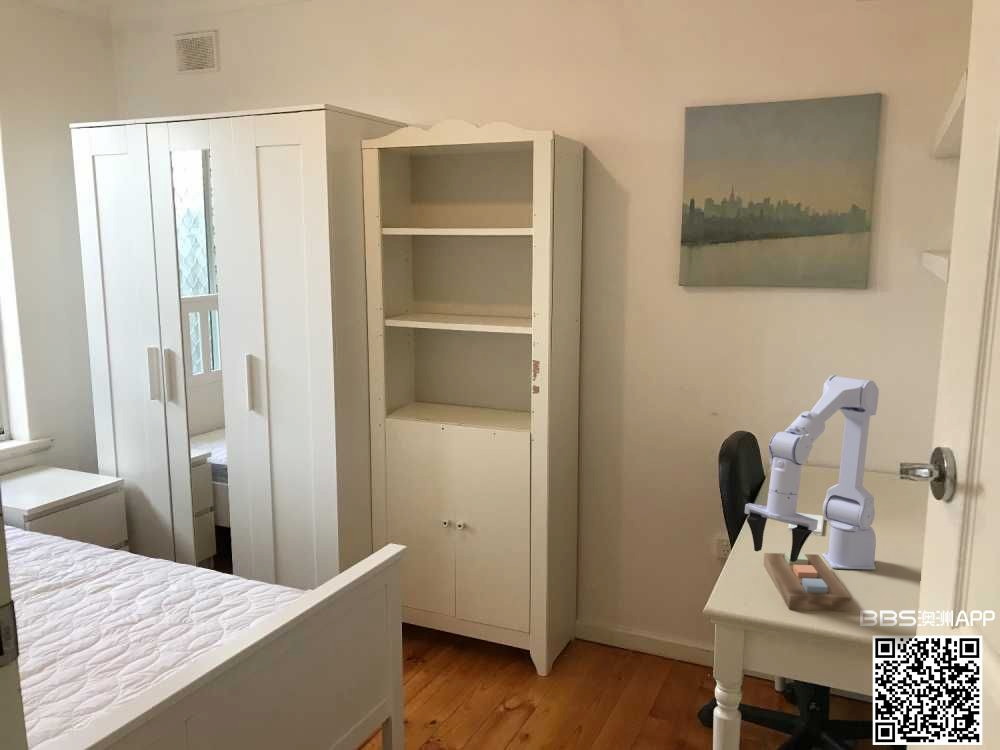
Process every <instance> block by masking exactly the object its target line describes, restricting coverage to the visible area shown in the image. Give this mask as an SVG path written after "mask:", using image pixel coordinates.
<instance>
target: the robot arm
mask: <svg viewBox="0 0 1000 750" xmlns="http://www.w3.org/2000/svg"><path fill="white" fill-rule="evenodd" d="M879 391H880V390H879V387H878V386H877V384H876V382H875V380H873V379H870V380H866V379H859V378H853V377H846V376H845V377H844V376H839V375H836V374H832V375H829V377H828V378H827V379H826V380H825V382H824V383H823V389H822V396H821V397H820V398H819V399H818V401H817V402H816V403H815V405H814V406H813V408H812V409H811V410H809V411H806V410H805V411H803V412H801V413H800V414H799V415H798V416H797V418H795V419H794V420H793V422H792V423H791V424H789V426H787V428H786V429H785V430H784V431H778V432H776V433H774V434H773V435H772V436H771V438H770V440H769V443H768V445H767V450H768V451H767V452H768V455H769V466H770V467H771V472H770V480H769V486H768V487H769V488H768V493H767V503H766V505H761V504H757V503H751V502H749V503H746V504H745V506H744V514H746V515H748V516H747V517H746V521H747V524H748V526H749V529H750V532H751V536H752V541H753V550H754V551H755V552H760V551H762V547H763V543H764V541H763V540H764V532H765V529H766V525H767V522H768V521H767V520H768V519H770V520H774V521H778V522H781V523H785V524H788V525H789V524H792V525H796V526H797V527H795V528H793V529H792V532H791V539H792V541H791V551H790V552H791V555H790V561H792V562H795V561H797V559H798V556H799V553H800V552H801V550H802V548H803V547H804V544H805V543H806V541H807V539H808V538H809V537H810V536H811V535H812V534H811V533H812V531H814V530H816V529H817V524H818V520H816V519H812V518H809V517H806V516H803V515H801V514H798V513H799V512H797V507H798V498H799V490H800V482H801V476H802V475H801V474H802V469H803V464H804V463H805V462H807V460H808V458H809V457H810V453H811V451H812V449H813V446H814V445H813V444H814V443H815V442H816V440H818V438H819V437H820V436H821V435H822V434H823V433H824V432H825V430H826V422H827V421H828V420H829V419H830V418H831V417H832V416H834V414H836V413H837V412H838V411H840V412H841V414H842V415H843V416H844V417H845V420H844V429H843V430H844V431H843V436H842V437H843V439H842V446H841V458H840V465H839V475H838V483H837V484H834V485H832V486H831V487H829V488H828V489H827V491H826V495H825V500H824V501H823V504H822V514H823V516H824V519H826V520H827V524H828V525H829V541H828V552H822V555H821V556H823V558H824V559H825V561H826V562H827V563H828V564H829V566H830V567H831V568H832V569H841V570H842V569H843V570H844V569H846V570H848V569H849V570H876V566H875V558H876V547H877V546H876V545H877V538H876V532H875V529H874V528H873V527H872V525H873V522H874V520H875V515H876V511H875V509H876V508H875V499H874V498H875V496H873V494H872V493H871V492H869V491H868V489H867V488H865V487H864V485H863V482H864V474H865V473H864V472H865V465H866V458H867V457H866V455H867V446H868V437H869V429H870V420H871V416H872V417H873V416H876V414H877V409H878V401H879V393H880V392H879Z"/></svg>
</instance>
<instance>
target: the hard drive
mask: <svg viewBox="0 0 1000 750" xmlns="http://www.w3.org/2000/svg"><path fill="white" fill-rule="evenodd" d="M797 513H798V514H801V515H803V516H806V517H809V518H812V519H816V520H818V524H817V529H816V530H814V531H812V533H813V534H821V535H822V536H823V531H824V524H825V523H824V522H825V521H824V520H825V517H824V515H819V514H811V513H803V512H797ZM795 527H797V526H796V525H792V524H788V527H787V531H788V530H790V531H792V529H793V528H795ZM790 531H789V532H790ZM813 534H812V535H813Z"/></svg>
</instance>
